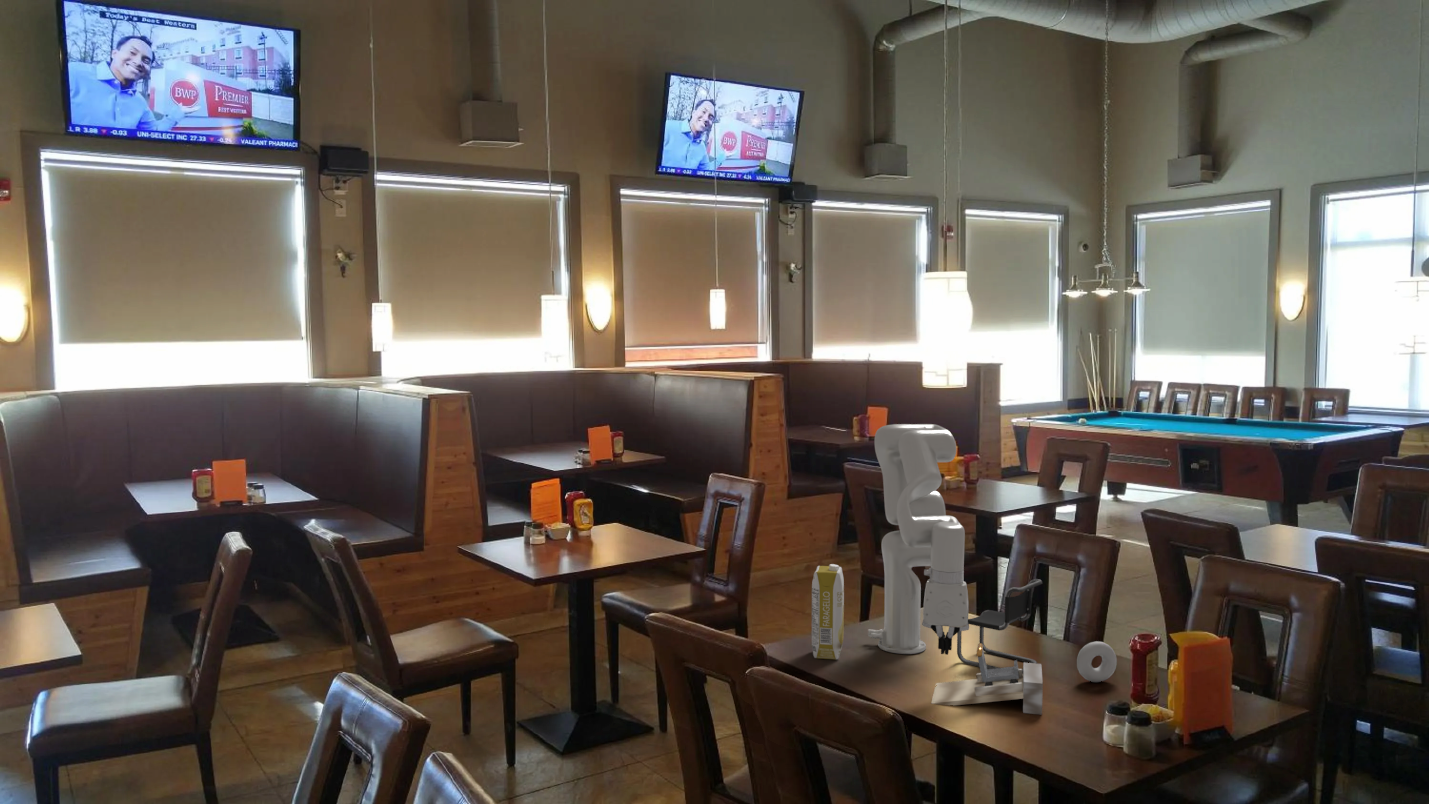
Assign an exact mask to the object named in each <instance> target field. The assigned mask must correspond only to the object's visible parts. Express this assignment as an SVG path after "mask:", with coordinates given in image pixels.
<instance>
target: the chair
mask: <svg viewBox="0 0 1429 804" xmlns="http://www.w3.org/2000/svg"><path fill="white" fill-rule="evenodd" d="M1040 585H1043V581H1042V580H1041V579H1038V578H1035V579H1032V580H1030V581H1029V582H1028V583H1027V584H1026V585H1025V586H1021V587H1017V586H1016V587H1010V588H1008V590H1006V593H1005V596H1004V612H1002V611H998V610H991V609H987V610H984V611H982V613H981V614H980V615H979V616H976V617H972V618H968V623H969V625H971V626H976V627H979V641H978V642H979V643H981V644H983V651H984V653H987V654H991V655H995V656H999V657H1003V658H1007V659H1011V658H1012V660H1015V659H1016V660H1017V661H1021V662H1025V663H1028V662H1029V663H1036V664H1039V663H1038V661H1036V660H1035V659H1033V658H1029V657H1024V656H1019V655H1015V654H1011V653H1007V652H1003V651H997V650H993V649H990V648H988V647H986V645H985V643H984V640H985V639H984V638H985V637H984V636H985V635H984V634H985V633H984V630H985V629H990V630H995V631H1003V630H1007V628H1008V627H1009V625H1010V624H1012V623H1014V622H1016V621H1020V622H1023V621H1026V620H1028V619H1029V618H1030V617H1031V615H1032V589H1033V588H1035V587H1038V586H1040ZM1014 592H1015V593H1020V594H1018V595H1016V596H1011V594H1013V593H1014ZM962 632H963V631H959V632H958V633H956V654H957V658H958V659H959V660H960V662H962V663H964V664H965V665H969V666H974V667H978V668H980V666H979V661H974V660H969V659H966V658H965V657H964V656H963V654H962ZM986 666H987V669H996V668H1001V667H1000V666H995V665H991V664H987V663H986ZM1021 669H1022V674H1023V668H1021Z"/></svg>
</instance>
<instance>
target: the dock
mask: <svg viewBox="0 0 1429 804" xmlns="http://www.w3.org/2000/svg"><path fill="white" fill-rule="evenodd" d="M1022 662H1023V666H1022V668H1018V669H1019V679H1017V680H1018V683H1011V684H1010V680H1002V681H993V682H992V683H993V685H992V686H985V683H986V682H983V681H982V676H981V672H977V673H976V674H975V676H976V678H972V679H964V680H953V681H944V682H936V683H935V686H936V685H937V686H936V687H935V686H934V690H933V695H932V700H931V703H930V704H933V705H943V706H950V705H953V706H961V705H971V704H972V705H974V704H982V703H992V702H1001V701H1002V702H1003V701H1011V700H1012V701H1013V700H1020V699H1021V700H1022V712H1023V714H1031V715H1032V714H1033V715H1041V716H1042V715H1043V687H1044V686H1043V683H1044V682H1043V681H1044V680H1043V670H1042V667H1043V666H1042V663H1038V664H1036V663H1028V662H1024V661H1022ZM1022 669H1023V674H1022Z"/></svg>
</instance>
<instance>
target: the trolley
mask: <svg viewBox="0 0 1429 804" xmlns="http://www.w3.org/2000/svg"><path fill="white" fill-rule="evenodd" d="M976 656H977V662H979V666H980V667H979V670H980V673H981V676H982V681H983V682H986V683H985V686H992V685H993V683H992V682H993V681H1002V680H1010V684H1011V683H1018V680H1017V679H1019V669H1020V668H1019V665H1018V664H1019V663H1018V660H1015V659H1013V660H1014V661H1013V666H1006V667H1005V666H1004V667H1000V668H996V669H987V666H986V664H987V662H986V661H987V660H986V657H985V651H984V650H983V644H981V643H980V642H979V643H977V648H976Z"/></svg>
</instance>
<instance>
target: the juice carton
mask: <svg viewBox="0 0 1429 804" xmlns="http://www.w3.org/2000/svg"><path fill="white" fill-rule="evenodd" d="M844 582H845V581H844V574H843V568H842V566H839V565H838V564H834V563H831V564H829V565H818V566H816V570H815V571H814V573H813V578H812V582H811V583H812V584H811V648H812V655H813V658H814V659H820V660H821V659H824V660H839V659H840V655H841V651H842V647H843V644H844V631H845V630H844V620H845V619H844V618H845V617H844V615H845V614H844V612H845V604H844V603H845V590H844V589H845V585H844V584H845V583H844Z"/></svg>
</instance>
